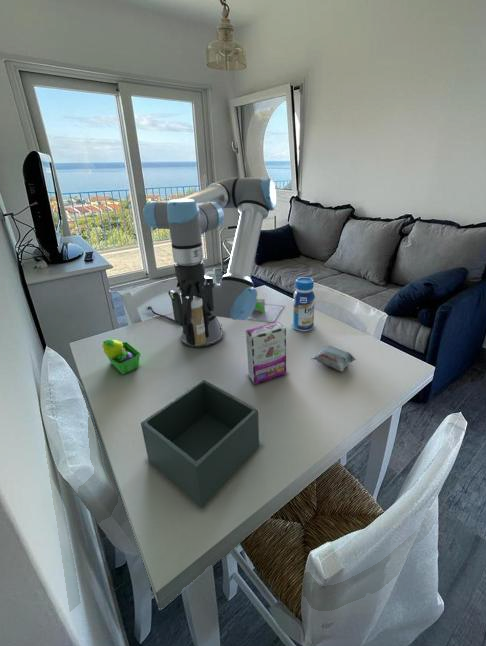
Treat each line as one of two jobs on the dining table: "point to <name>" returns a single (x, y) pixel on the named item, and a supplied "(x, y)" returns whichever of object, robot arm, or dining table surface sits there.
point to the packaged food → (334, 357)
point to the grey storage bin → (201, 439)
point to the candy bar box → (266, 352)
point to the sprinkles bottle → (197, 320)
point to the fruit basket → (121, 355)
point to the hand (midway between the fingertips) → (198, 339)
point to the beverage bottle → (303, 305)
